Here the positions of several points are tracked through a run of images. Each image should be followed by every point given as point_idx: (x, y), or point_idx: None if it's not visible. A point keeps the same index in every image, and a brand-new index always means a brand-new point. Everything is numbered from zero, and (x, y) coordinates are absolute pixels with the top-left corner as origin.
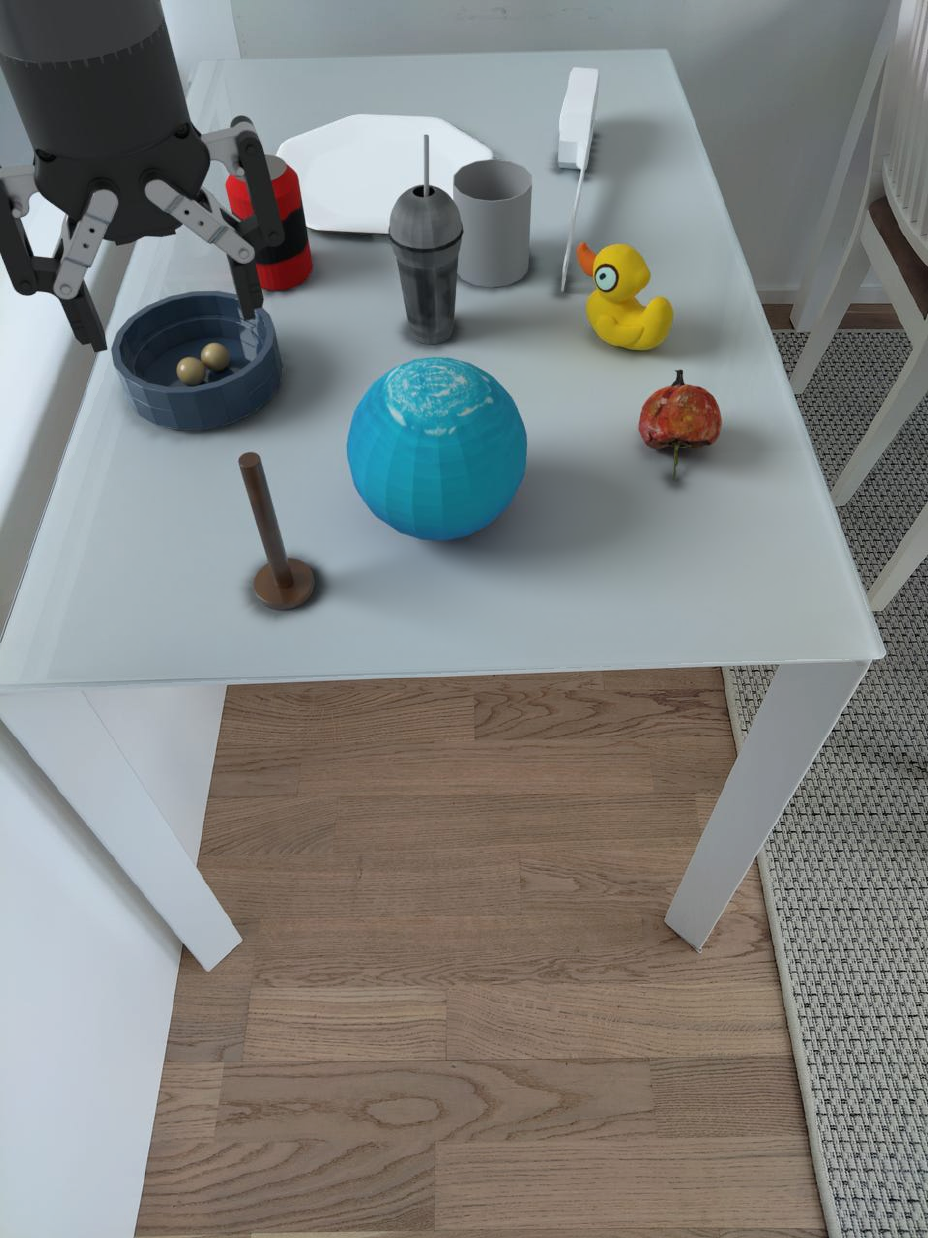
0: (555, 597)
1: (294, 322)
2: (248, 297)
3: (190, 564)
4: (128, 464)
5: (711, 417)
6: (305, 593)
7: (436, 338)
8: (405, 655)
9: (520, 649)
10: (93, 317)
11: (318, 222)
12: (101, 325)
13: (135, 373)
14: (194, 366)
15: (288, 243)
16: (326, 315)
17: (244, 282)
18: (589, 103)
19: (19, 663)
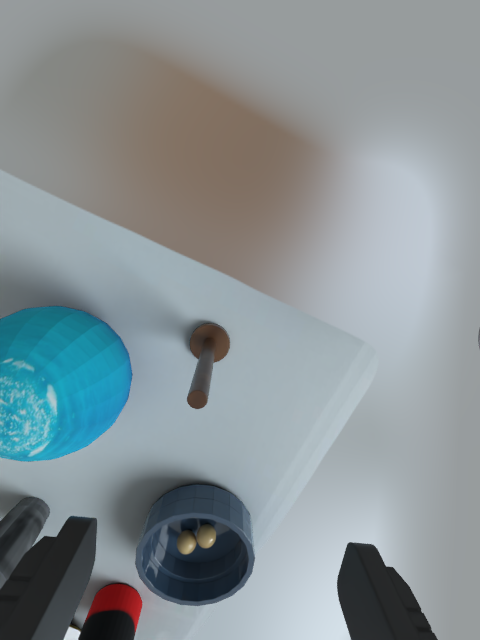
0: (38, 247)
1: (125, 553)
2: (44, 568)
3: (259, 385)
4: (268, 478)
5: None
6: (200, 327)
7: (31, 501)
8: (156, 253)
9: (80, 219)
10: (391, 630)
11: (74, 636)
12: (344, 600)
13: (241, 547)
14: (203, 538)
15: (97, 626)
16: (101, 551)
17: (16, 617)
18: None
19: (375, 359)
